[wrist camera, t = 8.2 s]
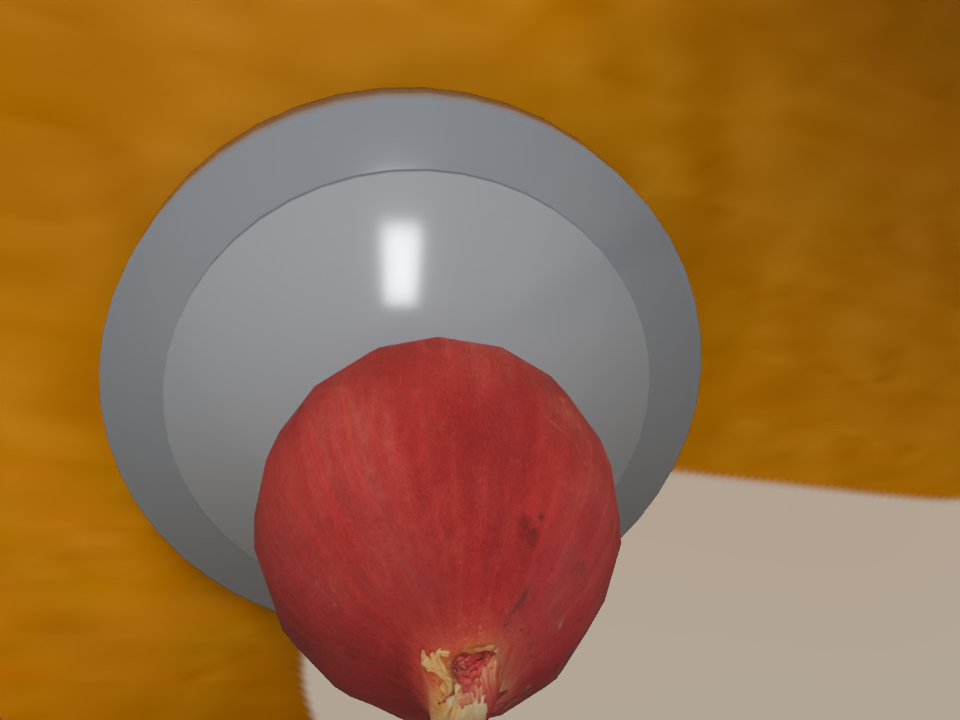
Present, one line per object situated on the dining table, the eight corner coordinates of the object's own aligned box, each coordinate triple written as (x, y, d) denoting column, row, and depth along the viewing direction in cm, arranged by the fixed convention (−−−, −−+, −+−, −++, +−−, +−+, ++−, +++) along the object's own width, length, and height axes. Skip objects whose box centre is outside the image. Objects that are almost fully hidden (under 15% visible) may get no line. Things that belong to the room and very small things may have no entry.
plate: (697, 62, 17) (726, 76, 16) (670, 559, 23) (690, 600, 22) (40, 115, 16) (15, 135, 15) (178, 628, 22) (169, 675, 20)
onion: (611, 435, 19) (775, 749, 12) (382, 569, 20) (409, 941, 13) (466, 211, 17) (567, 446, 9) (207, 376, 17) (121, 709, 10)
